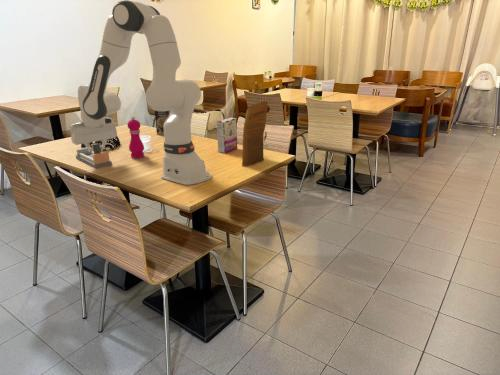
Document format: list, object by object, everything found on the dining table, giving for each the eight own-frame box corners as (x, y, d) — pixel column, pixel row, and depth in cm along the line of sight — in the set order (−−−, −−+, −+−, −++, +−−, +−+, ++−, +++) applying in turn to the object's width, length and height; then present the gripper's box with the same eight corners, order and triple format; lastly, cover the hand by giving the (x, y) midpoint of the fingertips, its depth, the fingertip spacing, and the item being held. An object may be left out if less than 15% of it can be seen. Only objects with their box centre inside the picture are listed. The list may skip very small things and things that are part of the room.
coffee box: (156, 134, 233) (153, 108, 227) (160, 132, 239) (158, 106, 233) (170, 135, 232) (168, 108, 226) (174, 132, 238) (172, 106, 232)
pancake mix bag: (271, 158, 186) (272, 100, 175) (247, 168, 171) (247, 106, 161) (260, 156, 189) (260, 99, 179) (236, 166, 175) (235, 104, 165)
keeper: (104, 160, 178) (102, 144, 175) (97, 162, 176) (94, 146, 173) (99, 158, 181) (97, 142, 178) (92, 160, 179) (89, 144, 176)
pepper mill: (140, 158, 186) (136, 118, 179) (127, 158, 188) (122, 117, 180) (147, 154, 193) (143, 115, 186) (134, 154, 194) (129, 115, 187)
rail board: (112, 164, 178) (110, 152, 176) (95, 168, 173) (93, 155, 171) (92, 154, 193) (90, 143, 191) (76, 158, 188) (74, 146, 186)
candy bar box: (230, 147, 205) (229, 117, 199) (237, 148, 203) (237, 118, 197) (217, 152, 197) (216, 120, 191) (224, 153, 194) (224, 121, 188)
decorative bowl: (89, 153, 196) (84, 126, 190) (76, 146, 210) (71, 120, 205) (126, 146, 208) (122, 120, 203) (111, 140, 222) (108, 115, 217)
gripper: (71, 125, 163) (77, 156, 168) (116, 118, 176) (120, 147, 181) (66, 123, 167) (71, 153, 172) (110, 116, 180) (114, 145, 185)
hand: (97, 150), depth 177 cm, fingers open, 5 cm apart
